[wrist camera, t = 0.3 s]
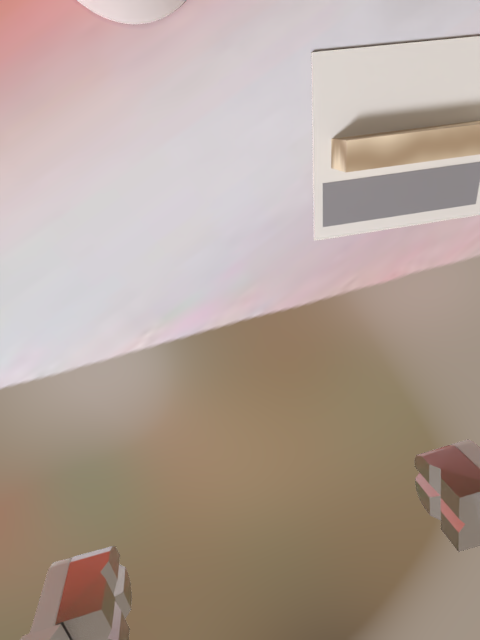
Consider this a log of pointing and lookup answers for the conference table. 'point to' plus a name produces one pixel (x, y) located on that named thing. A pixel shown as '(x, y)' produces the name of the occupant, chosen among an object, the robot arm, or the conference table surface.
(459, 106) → the mat
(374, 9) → the conference table surface
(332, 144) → the long tan strip
